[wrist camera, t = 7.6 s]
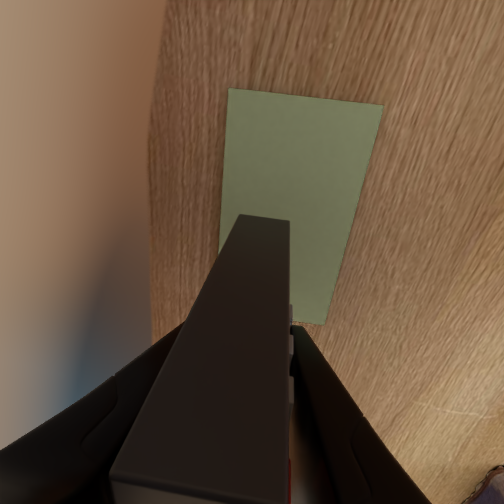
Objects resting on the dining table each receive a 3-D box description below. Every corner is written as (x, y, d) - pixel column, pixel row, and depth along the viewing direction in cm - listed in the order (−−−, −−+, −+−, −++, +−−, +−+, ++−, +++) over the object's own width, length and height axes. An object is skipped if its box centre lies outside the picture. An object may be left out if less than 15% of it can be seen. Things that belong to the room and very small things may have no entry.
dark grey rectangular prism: (231, 300, 14) (133, 609, 5) (238, 212, 12) (104, 475, 3) (281, 307, 14) (266, 640, 5) (297, 220, 12) (316, 518, 3)
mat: (323, 322, 24) (324, 325, 24) (215, 306, 24) (214, 309, 24) (382, 105, 17) (384, 105, 17) (229, 87, 17) (228, 87, 17)
